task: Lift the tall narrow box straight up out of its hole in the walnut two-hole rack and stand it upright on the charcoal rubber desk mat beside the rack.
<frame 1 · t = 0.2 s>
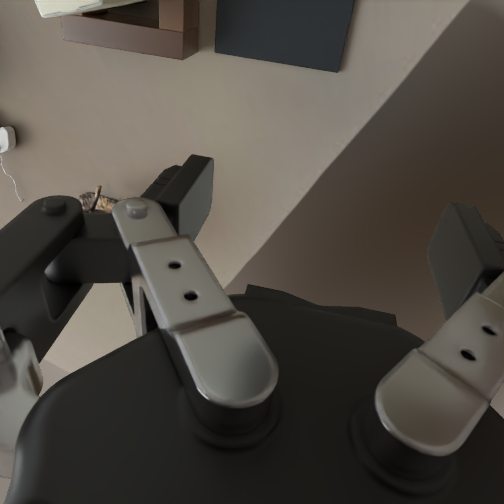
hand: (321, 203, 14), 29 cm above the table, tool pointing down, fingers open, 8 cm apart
game controller: (6, 156, 50), on the table
plant with pod: (107, 216, 53), on the table
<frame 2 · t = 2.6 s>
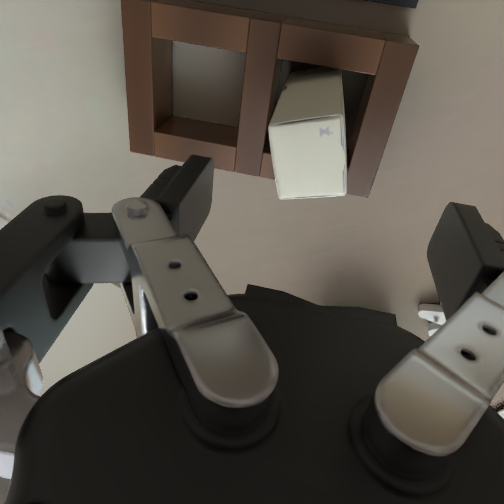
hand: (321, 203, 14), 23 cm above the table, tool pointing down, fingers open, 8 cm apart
game controller: (473, 313, 43), on the table
box: (317, 100, 34), resting in rack
rack: (264, 91, 34), on the table
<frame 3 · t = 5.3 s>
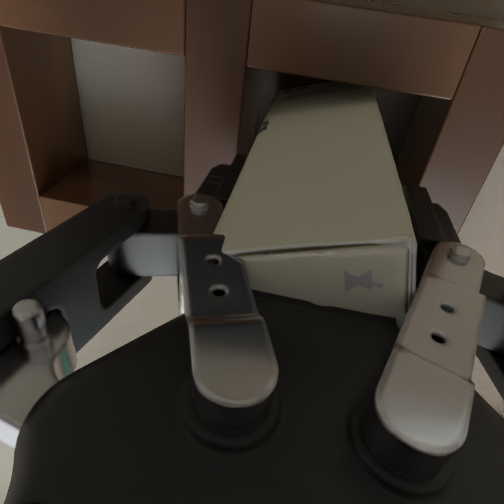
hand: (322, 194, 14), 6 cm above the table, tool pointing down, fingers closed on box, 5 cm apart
box: (327, 137, 19), resting in rack, touching gripper
rack: (234, 122, 19), on the table
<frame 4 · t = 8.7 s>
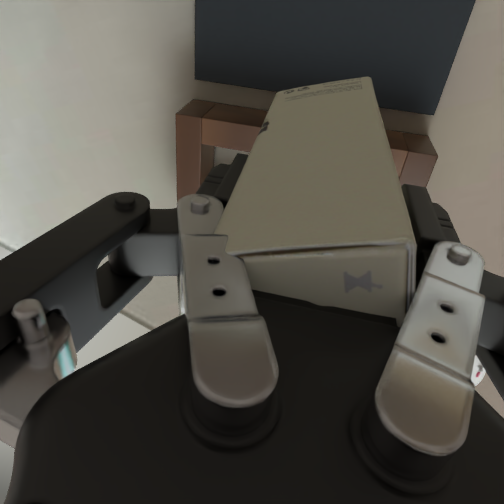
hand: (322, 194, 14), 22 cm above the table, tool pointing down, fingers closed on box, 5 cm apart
game controller: (490, 363, 46), on the table
box: (327, 137, 19), point 16 cm above the table, touching gripper
rack: (296, 177, 38), on the table
mat: (325, 12, 30), on the table
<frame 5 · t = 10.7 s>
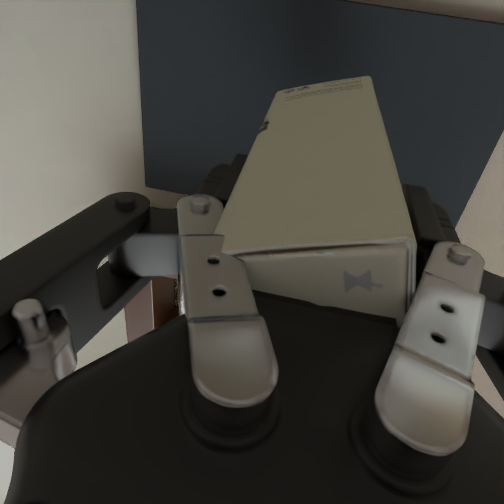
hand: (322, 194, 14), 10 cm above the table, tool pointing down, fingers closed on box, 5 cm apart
box: (327, 137, 19), point 4 cm above the table, touching gripper
rack: (275, 294, 31), on the table
mat: (310, 121, 23), on the table
when the fingers open (6 cm above the table, at t = 12.2 s): box stays where it is, resting on mat.
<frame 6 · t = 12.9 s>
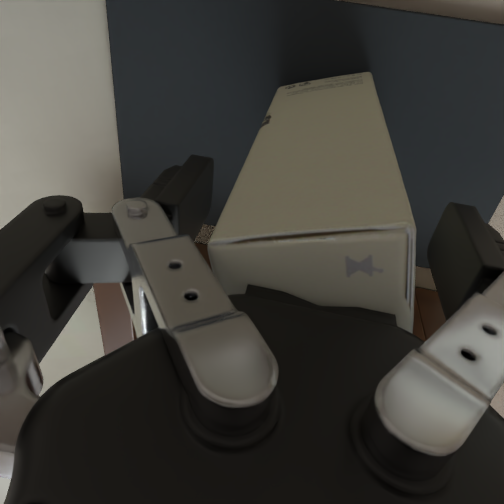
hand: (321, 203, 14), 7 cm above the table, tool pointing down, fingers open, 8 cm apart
box: (328, 133, 19), resting on mat
rack: (269, 323, 28), on the table
mat: (306, 138, 20), on the table
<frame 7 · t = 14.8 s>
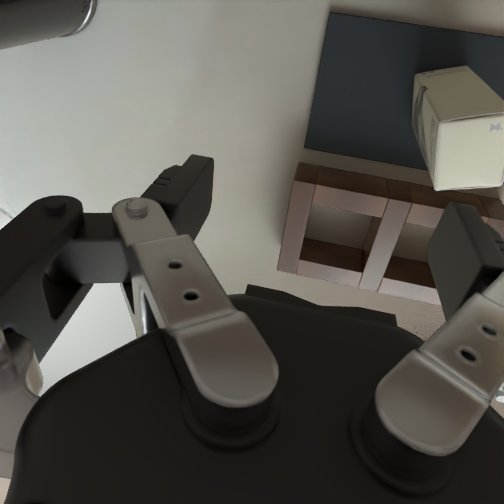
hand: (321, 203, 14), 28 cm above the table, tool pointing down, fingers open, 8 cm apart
box: (438, 99, 36), resting on mat
rack: (380, 226, 44), on the table
mat: (424, 103, 36), on the table
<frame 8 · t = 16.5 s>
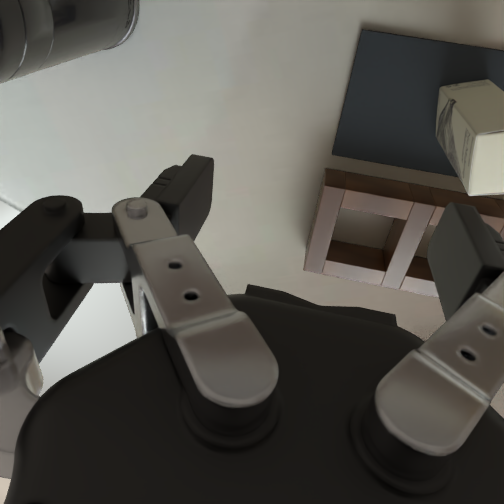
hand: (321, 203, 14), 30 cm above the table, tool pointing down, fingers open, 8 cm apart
box: (460, 110, 38), resting on mat
rack: (401, 227, 47), on the table
mat: (446, 113, 39), on the table
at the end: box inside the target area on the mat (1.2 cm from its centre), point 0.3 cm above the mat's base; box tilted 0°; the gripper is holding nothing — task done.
